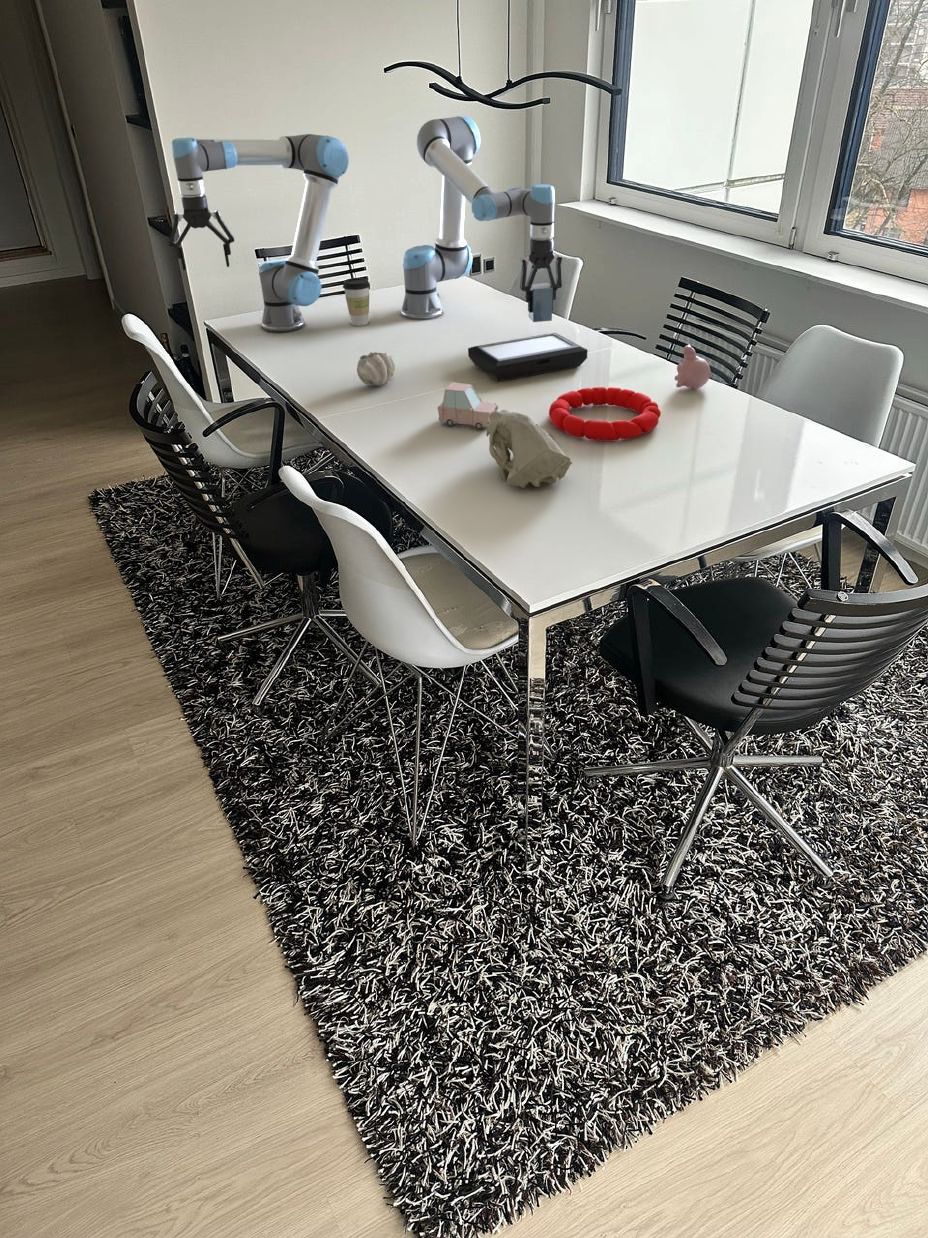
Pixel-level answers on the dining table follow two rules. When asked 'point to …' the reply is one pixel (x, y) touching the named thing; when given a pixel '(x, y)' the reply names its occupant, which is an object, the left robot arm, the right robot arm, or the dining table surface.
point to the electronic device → (527, 356)
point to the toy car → (465, 406)
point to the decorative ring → (604, 428)
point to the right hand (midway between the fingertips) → (540, 310)
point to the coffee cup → (357, 300)
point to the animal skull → (525, 450)
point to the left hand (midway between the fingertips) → (206, 267)
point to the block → (541, 302)
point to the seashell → (375, 368)
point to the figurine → (692, 370)
